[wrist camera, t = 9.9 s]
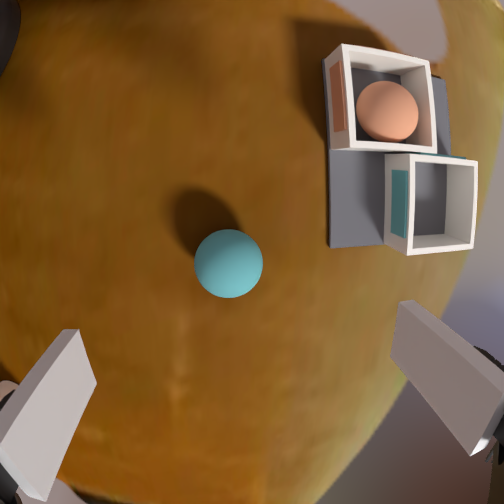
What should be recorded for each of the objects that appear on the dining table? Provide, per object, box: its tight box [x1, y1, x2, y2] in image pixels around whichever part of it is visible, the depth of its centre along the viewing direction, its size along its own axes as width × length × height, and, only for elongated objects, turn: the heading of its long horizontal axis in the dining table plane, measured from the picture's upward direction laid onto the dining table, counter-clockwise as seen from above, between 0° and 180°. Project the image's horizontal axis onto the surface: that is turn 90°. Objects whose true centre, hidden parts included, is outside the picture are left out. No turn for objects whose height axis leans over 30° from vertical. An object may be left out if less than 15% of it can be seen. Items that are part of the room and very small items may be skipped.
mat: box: [322, 59, 451, 248], centre depth 25 cm, size 16×13×1 cm
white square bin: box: [383, 152, 478, 255], centre depth 24 cm, size 8×8×4 cm
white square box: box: [324, 44, 437, 154], centre depth 21 cm, size 8×8×4 cm
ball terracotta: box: [356, 81, 418, 143], centre depth 21 cm, size 5×5×5 cm
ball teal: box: [194, 229, 263, 298], centre depth 23 cm, size 5×5×5 cm
